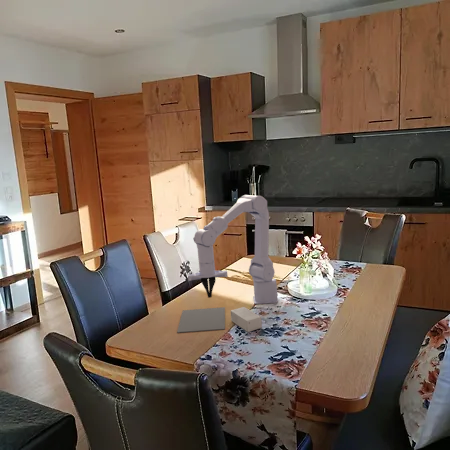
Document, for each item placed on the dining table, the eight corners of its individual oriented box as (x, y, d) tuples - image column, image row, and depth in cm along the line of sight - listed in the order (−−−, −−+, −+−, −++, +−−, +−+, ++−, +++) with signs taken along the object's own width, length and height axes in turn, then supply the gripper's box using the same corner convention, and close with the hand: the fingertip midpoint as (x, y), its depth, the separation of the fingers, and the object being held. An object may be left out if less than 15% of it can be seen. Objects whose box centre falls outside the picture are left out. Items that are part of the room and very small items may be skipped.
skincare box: (230, 321, 155) (247, 332, 144) (230, 310, 154) (246, 320, 143) (245, 317, 157) (262, 327, 147) (244, 306, 157) (261, 316, 146)
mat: (224, 307, 168) (224, 307, 168) (224, 329, 148) (224, 328, 148) (182, 311, 168) (182, 310, 168) (177, 332, 148) (177, 332, 148)
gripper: (225, 256, 158) (227, 290, 161) (186, 260, 157) (190, 295, 160) (226, 261, 151) (229, 297, 154) (186, 265, 150) (190, 301, 153)
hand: (209, 296), depth 156 cm, fingers closed
